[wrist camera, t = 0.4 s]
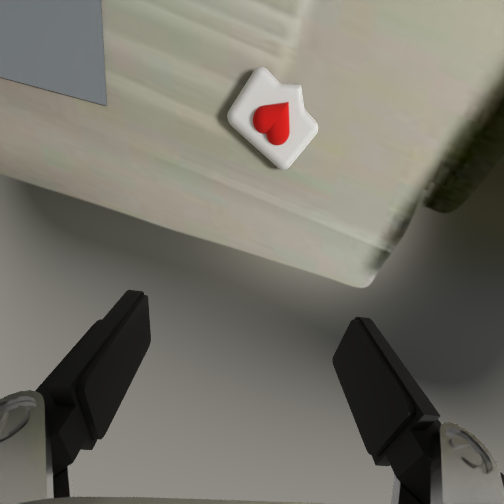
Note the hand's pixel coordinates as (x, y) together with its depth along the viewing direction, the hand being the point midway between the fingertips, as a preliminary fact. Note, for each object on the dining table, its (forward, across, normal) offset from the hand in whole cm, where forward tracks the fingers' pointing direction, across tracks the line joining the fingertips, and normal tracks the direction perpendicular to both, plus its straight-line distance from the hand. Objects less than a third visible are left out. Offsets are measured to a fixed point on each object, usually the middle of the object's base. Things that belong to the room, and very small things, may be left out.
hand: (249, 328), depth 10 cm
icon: (+31, -2, -12) cm, 34 cm away
